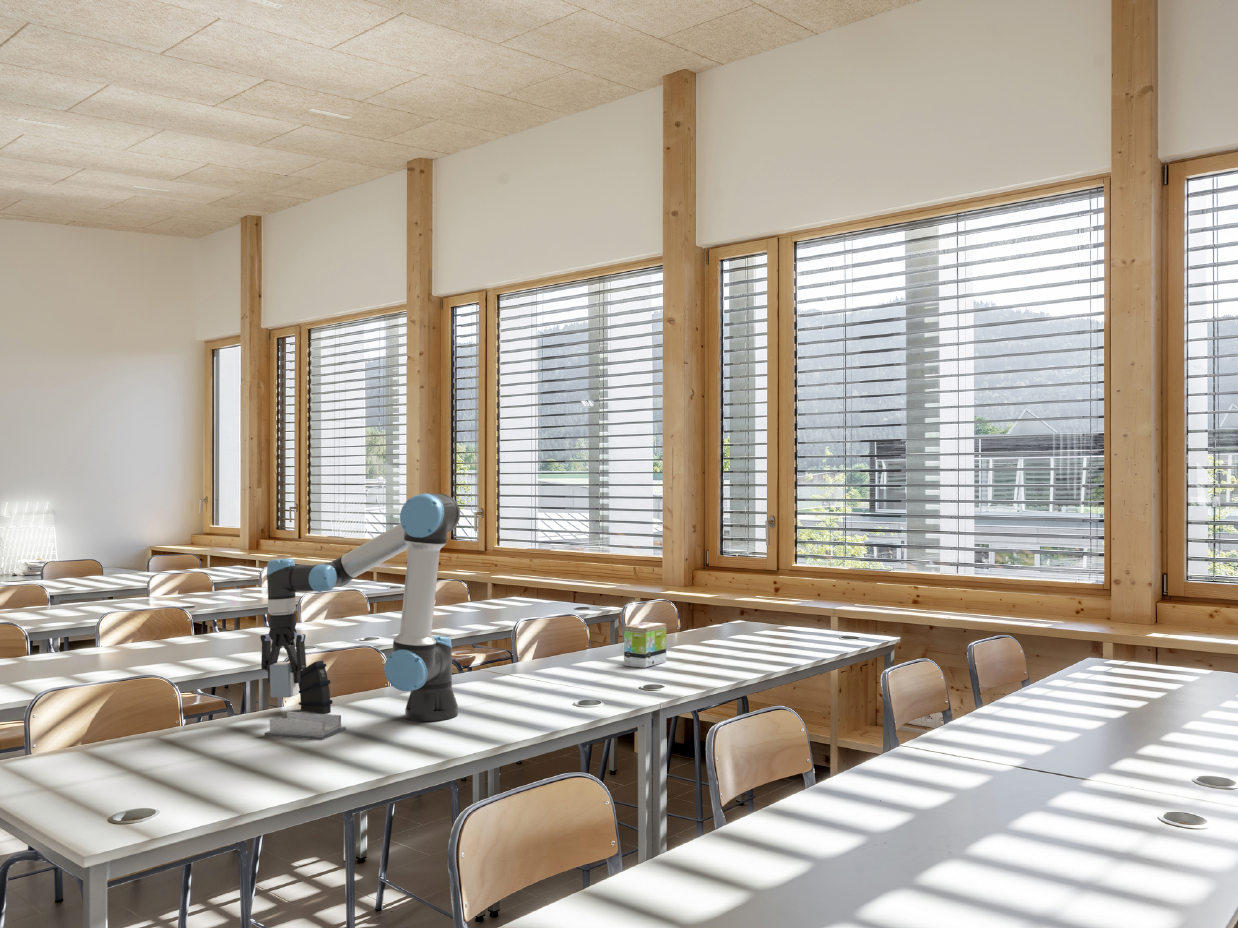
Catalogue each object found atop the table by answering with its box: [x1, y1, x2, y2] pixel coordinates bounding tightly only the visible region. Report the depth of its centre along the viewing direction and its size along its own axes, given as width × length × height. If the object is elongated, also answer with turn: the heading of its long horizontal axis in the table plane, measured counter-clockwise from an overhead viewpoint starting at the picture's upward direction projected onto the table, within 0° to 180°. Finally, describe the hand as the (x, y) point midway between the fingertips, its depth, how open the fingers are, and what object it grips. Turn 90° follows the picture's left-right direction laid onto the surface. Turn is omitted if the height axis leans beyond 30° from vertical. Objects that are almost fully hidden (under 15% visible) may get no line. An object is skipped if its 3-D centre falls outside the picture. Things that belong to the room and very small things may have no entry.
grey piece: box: [264, 711, 347, 741], centre depth 262 cm, size 18×11×4 cm, turn 73°
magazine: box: [298, 660, 333, 714], centre depth 288 cm, size 4×13×15 cm, turn 54°
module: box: [269, 661, 299, 699], centre depth 275 cm, size 6×4×9 cm
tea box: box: [623, 621, 667, 669], centre depth 358 cm, size 15×10×15 cm, turn 147°
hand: (284, 694), depth 275 cm, fingers closed on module, 6 cm apart
